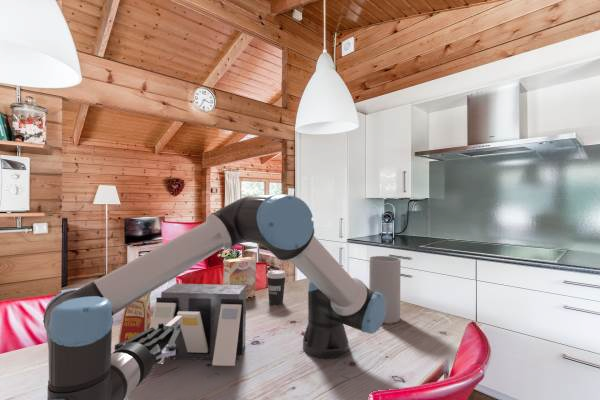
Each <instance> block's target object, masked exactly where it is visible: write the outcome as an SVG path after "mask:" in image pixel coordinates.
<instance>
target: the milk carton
mask: <svg viewBox="0 0 600 400" xmlns="http://www.w3.org/2000/svg"><path fill="white" fill-rule="evenodd" d="M151 293H152V292H150V293H149V294H147V295H145V296H144V297H142V298H141V299H139V300H137V301H136V302H134V303H132V304H131V305H129V306H127V307H126V308H124V309H123V313H122V318H121V323H120V327H119V328H120V329H119V335H118V343H121V342H124V341H126V340H128V339H130V338H132V337H134V336H136V335H138V334H140V333H142V332H144V331H145V330H147V329H149V327H150V323H151V319H152V314H151V296H150V295H151ZM118 343H117V344H118Z"/></svg>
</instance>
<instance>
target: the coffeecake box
mask: <svg viewBox="0 0 600 400" xmlns="http://www.w3.org/2000/svg"><path fill="white" fill-rule="evenodd" d="M256 266H257V259H256V258H254V257H252V256H245V257H239V258H238V257H237V258H229V259H224V260H223V282H222V285H246V298H247V297H251V298H253V297H252V296H255V297H256V283H257V280H256V276H257V275H256V273H257V267H256ZM247 299H248V298H247Z"/></svg>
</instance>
